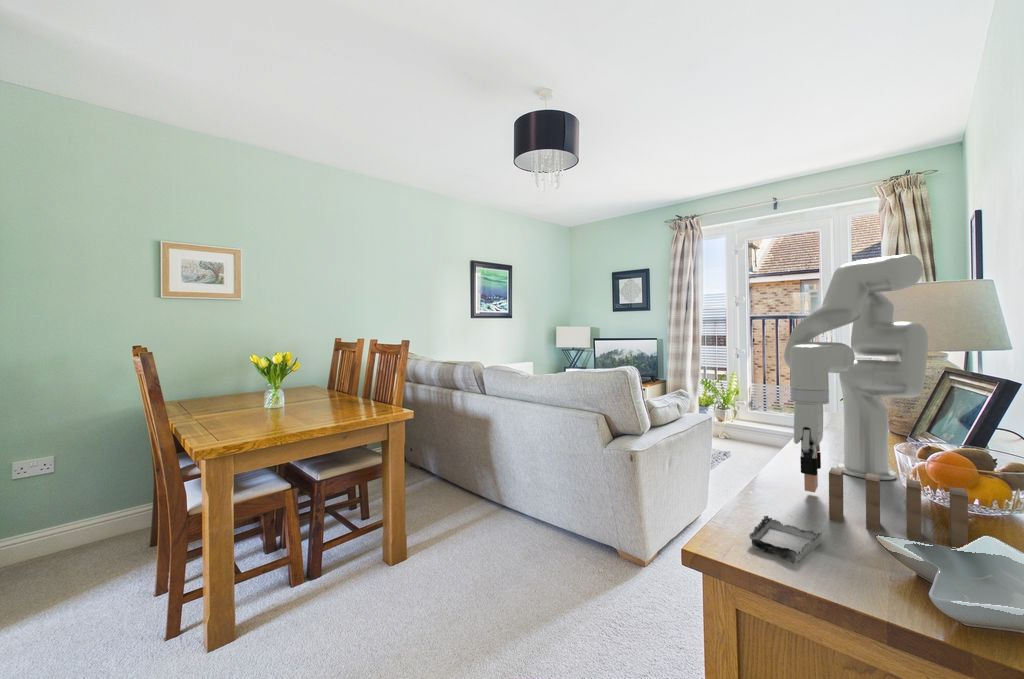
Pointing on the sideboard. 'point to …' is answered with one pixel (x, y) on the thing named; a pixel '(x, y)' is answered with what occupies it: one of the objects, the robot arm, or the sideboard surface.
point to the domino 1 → (811, 480)
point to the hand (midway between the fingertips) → (810, 470)
